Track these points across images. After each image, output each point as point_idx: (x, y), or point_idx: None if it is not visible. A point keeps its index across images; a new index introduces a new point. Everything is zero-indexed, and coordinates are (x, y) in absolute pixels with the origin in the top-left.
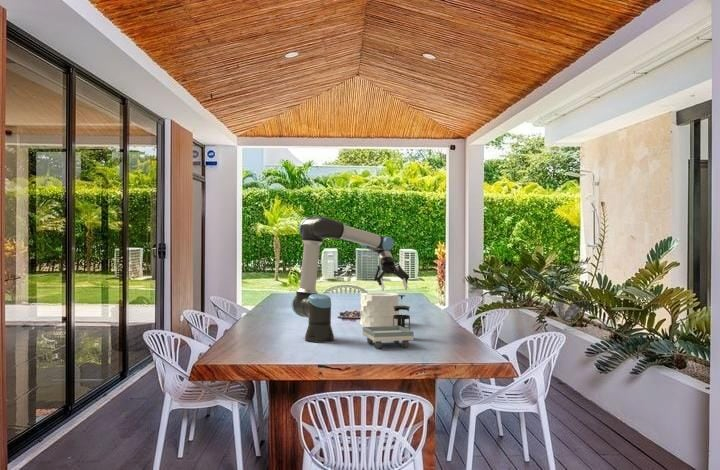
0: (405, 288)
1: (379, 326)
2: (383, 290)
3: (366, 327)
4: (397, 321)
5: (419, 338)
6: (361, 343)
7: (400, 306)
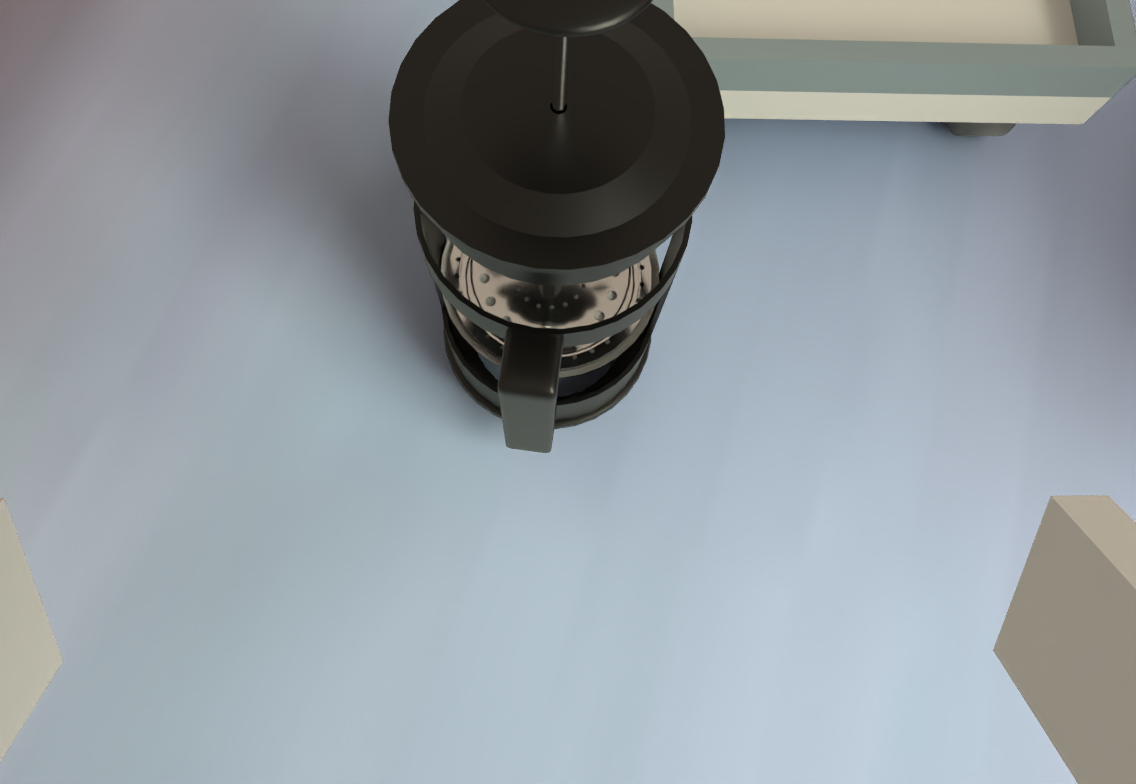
0: (30, 632)
1: (928, 57)
2: (997, 639)
3: (1097, 49)
4: (553, 422)
5: (348, 267)
6: (1049, 135)
7: (607, 47)
